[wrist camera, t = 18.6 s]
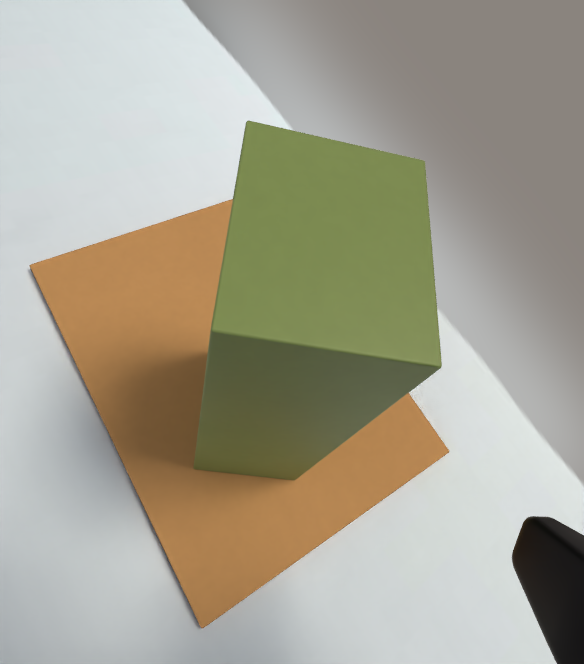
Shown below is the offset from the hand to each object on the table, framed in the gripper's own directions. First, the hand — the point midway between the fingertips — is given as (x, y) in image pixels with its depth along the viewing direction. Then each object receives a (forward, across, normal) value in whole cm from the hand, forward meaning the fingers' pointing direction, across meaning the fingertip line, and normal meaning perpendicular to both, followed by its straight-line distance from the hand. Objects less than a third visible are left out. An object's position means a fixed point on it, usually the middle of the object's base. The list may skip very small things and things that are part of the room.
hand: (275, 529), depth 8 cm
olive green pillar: (+11, -1, +4) cm, 12 cm away
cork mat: (+13, 0, +2) cm, 13 cm away
